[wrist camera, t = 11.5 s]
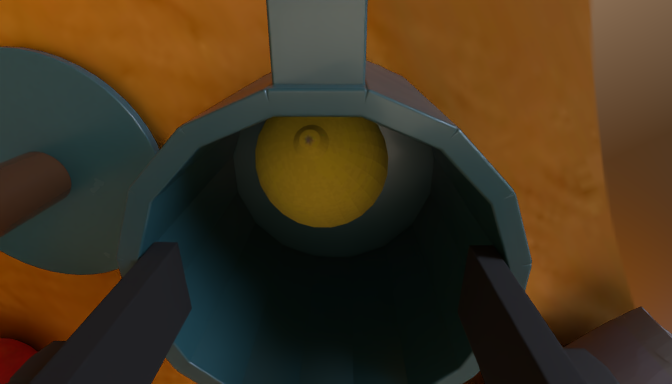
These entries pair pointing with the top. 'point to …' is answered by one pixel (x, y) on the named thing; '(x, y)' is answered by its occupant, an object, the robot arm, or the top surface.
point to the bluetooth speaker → (631, 348)
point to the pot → (323, 242)
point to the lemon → (321, 167)
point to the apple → (12, 357)
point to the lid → (64, 163)
